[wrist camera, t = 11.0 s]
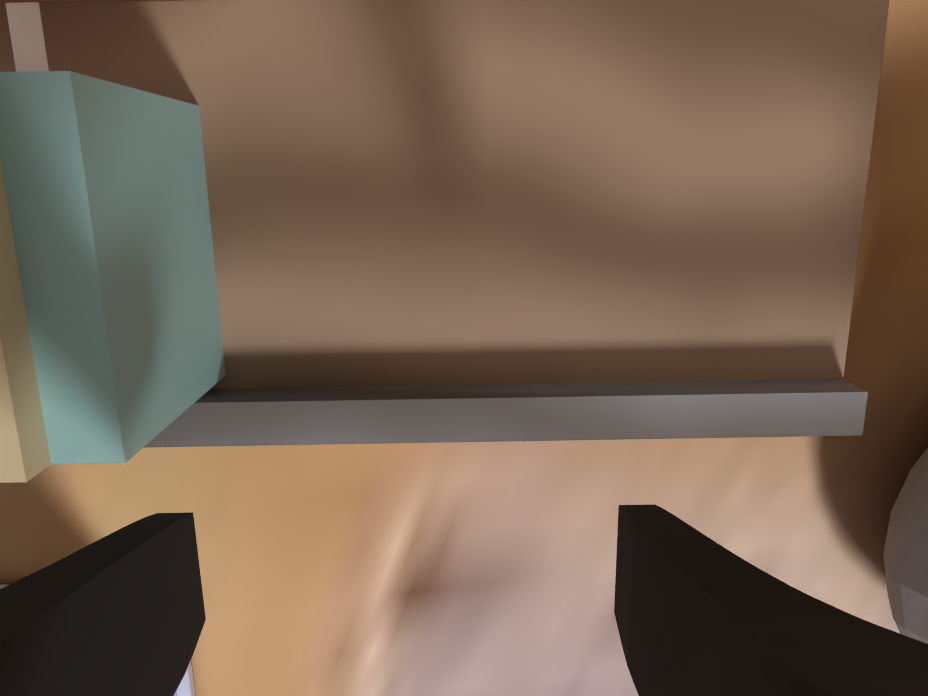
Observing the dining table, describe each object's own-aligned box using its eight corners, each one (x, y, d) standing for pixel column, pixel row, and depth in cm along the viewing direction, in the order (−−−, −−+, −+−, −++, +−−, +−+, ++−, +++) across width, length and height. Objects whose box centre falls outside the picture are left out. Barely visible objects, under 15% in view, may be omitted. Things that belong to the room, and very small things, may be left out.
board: (811, 403, 21) (862, 435, 18) (46, 415, 21) (-13, 450, 18) (856, 5, 18) (922, -23, 16) (-21, 17, 18) (-100, -10, 16)
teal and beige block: (225, 375, 19) (104, 480, 13) (79, 377, 19) (-120, 484, 12) (199, 105, 17) (42, 63, 11) (37, 107, 17) (-218, 66, 11)
